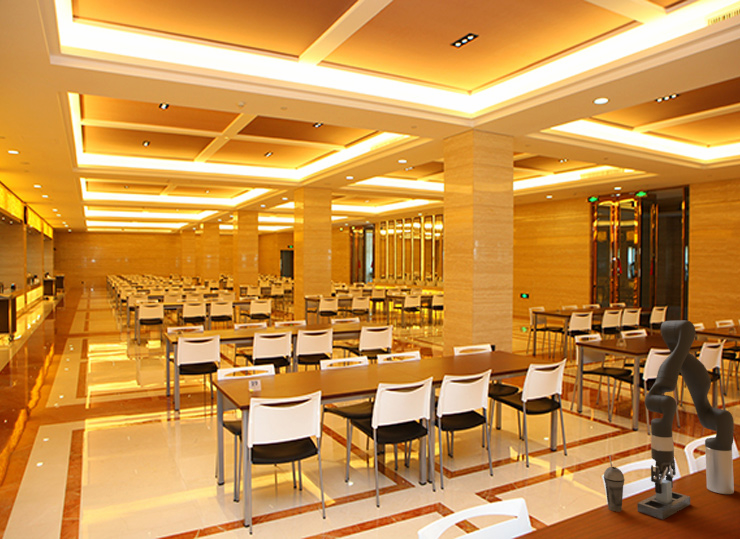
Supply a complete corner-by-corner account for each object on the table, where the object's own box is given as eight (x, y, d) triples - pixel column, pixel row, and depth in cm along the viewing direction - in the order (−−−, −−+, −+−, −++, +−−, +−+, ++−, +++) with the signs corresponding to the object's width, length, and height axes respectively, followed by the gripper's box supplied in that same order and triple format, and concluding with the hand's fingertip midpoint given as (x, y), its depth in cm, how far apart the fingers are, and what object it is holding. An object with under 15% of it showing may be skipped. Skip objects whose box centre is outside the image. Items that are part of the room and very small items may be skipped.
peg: (661, 504, 196) (660, 478, 196) (672, 508, 192) (671, 481, 193) (656, 507, 193) (655, 480, 194) (667, 510, 190) (666, 483, 190)
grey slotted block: (665, 497, 203) (665, 489, 203) (690, 504, 195) (690, 496, 195) (637, 511, 190) (637, 503, 190) (662, 519, 183) (662, 511, 183)
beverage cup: (628, 514, 188) (626, 459, 189) (607, 512, 189) (605, 458, 190) (622, 505, 195) (620, 453, 196) (602, 504, 196) (600, 452, 197)
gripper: (661, 441, 201) (662, 483, 200) (642, 448, 193) (644, 491, 192) (681, 445, 195) (683, 488, 194) (663, 453, 186) (665, 498, 186)
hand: (664, 490), depth 193 cm, fingers open, 8 cm apart
